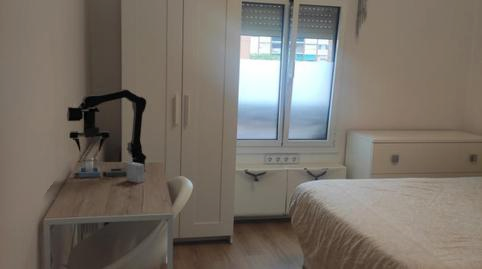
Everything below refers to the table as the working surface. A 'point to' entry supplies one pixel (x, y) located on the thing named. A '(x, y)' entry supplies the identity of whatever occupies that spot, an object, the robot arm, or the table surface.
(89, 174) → the parts tray
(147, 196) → the table surface
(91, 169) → the grey rounded piece
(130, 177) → the medicine box
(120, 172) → the grey flat square frame
